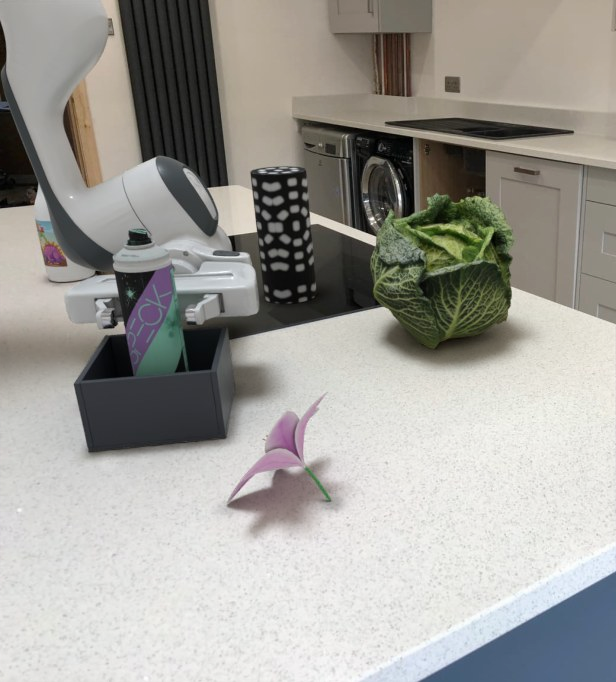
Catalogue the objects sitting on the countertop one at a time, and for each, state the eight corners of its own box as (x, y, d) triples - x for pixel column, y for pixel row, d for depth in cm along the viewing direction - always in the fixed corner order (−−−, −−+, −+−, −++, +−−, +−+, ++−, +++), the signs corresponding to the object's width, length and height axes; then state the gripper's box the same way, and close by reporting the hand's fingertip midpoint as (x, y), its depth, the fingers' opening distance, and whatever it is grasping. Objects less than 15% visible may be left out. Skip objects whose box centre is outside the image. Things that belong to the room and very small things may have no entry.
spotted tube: (255, 294, 119) (240, 170, 112) (300, 284, 124) (289, 164, 117) (279, 307, 113) (265, 176, 106) (326, 296, 118) (316, 170, 111)
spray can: (138, 406, 81) (105, 227, 74) (190, 395, 83) (162, 221, 76) (144, 426, 77) (109, 239, 69) (198, 415, 79) (169, 232, 72)
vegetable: (414, 395, 100) (406, 296, 84) (354, 303, 110) (337, 200, 95) (535, 338, 106) (549, 236, 90) (467, 256, 117) (469, 152, 101)
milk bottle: (89, 268, 135) (67, 157, 128) (101, 277, 130) (79, 161, 122) (43, 276, 130) (17, 161, 123) (54, 285, 125) (28, 166, 118)
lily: (342, 457, 73) (290, 378, 71) (399, 462, 64) (340, 371, 61) (244, 538, 67) (184, 454, 65) (291, 557, 58) (221, 460, 55)
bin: (88, 452, 73) (73, 383, 70) (117, 395, 85) (105, 335, 82) (226, 438, 75) (216, 371, 72) (235, 384, 87) (227, 325, 84)
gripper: (84, 258, 86) (35, 295, 73) (262, 252, 88) (245, 286, 75) (94, 309, 88) (48, 353, 75) (268, 302, 90) (252, 343, 77)
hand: (148, 320), depth 75 cm, fingers open, 7 cm apart
